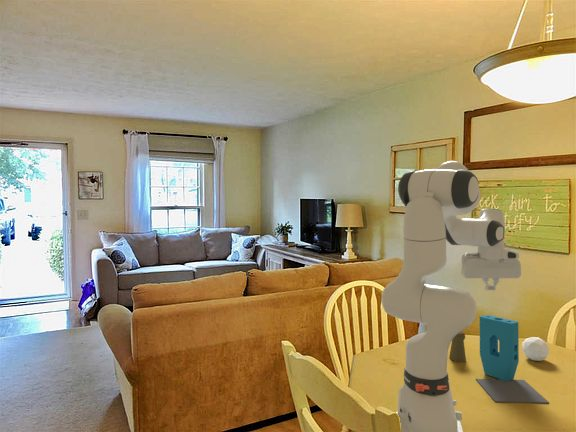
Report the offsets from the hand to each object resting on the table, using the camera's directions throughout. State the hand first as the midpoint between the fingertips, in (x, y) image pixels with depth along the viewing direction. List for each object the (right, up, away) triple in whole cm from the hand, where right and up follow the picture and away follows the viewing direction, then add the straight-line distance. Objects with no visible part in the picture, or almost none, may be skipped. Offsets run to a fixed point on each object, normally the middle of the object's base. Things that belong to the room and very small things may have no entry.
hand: (490, 290), depth 148 cm
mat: (-2, -30, -17) cm, 34 cm away
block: (0, -29, -7) cm, 30 cm away
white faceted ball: (+22, -29, +9) cm, 37 cm away
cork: (-8, -29, +9) cm, 31 cm away
